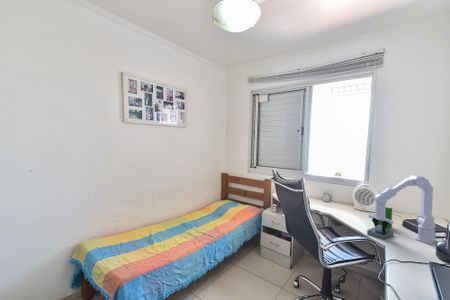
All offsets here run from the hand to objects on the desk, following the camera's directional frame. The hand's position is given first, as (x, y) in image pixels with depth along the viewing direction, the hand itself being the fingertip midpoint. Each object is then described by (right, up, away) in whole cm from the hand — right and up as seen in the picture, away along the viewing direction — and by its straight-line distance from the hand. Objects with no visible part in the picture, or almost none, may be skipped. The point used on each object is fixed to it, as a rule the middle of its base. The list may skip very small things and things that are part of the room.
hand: (380, 230), depth 142 cm
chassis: (0, -3, 0) cm, 3 cm away
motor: (+15, -3, +15) cm, 21 cm away
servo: (0, -2, 0) cm, 2 cm away
